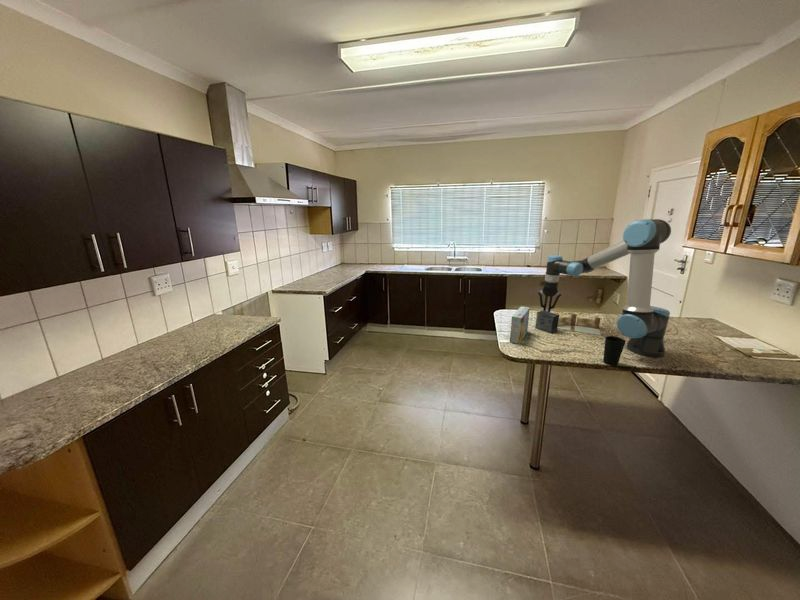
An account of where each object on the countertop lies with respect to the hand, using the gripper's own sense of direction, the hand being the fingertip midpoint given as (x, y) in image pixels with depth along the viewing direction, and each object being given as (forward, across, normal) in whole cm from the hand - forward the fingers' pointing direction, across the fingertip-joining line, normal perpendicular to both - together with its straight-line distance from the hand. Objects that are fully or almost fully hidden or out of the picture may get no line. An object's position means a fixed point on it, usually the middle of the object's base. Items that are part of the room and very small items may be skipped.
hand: (545, 318), depth 190 cm
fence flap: (+3, +9, +2) cm, 10 cm away
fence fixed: (+4, +22, +7) cm, 23 cm away
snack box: (+4, -12, -28) cm, 31 cm away
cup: (+4, +30, -41) cm, 51 cm away
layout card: (+4, +15, +4) cm, 16 cm away
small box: (+4, +1, -9) cm, 10 cm away
